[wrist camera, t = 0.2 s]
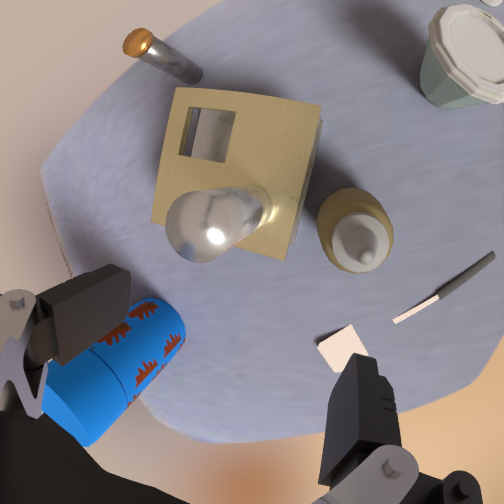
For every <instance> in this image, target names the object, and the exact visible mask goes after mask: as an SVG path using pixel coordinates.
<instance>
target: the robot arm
mask: <svg viewBox="0 0 504 504" xmlns="http://www.w3.org/2000/svg"><path fill="white" fill-rule="evenodd" d="M130 280H131V276H130V273H129V271H127V270H125V269H123V268H120V267H118V266H116V265H114V264H108V265H106V266H104V267H102V268H99V269H97V270H95V271H93V272H87V273H83V274H81V275H79V276H76V277H74V278H73V279H70V280H68V281H66V282H65V283H61V284H59V285H57V286H55V287H53V288H51V289H48V290H46V291H44V292H42V293H40V294H38V295H36V296H35V295H34V294H33V293H31V292H29V291H26V290H21V289H17V290H11V291H8V292H6V293H4V294H3V295H2V294H0V504H190V503H187V502H185V501H183V500H180V499H178V498H176V497H174V496H171V495H169V494H167V493H165V492H163V491H161V490H159V489H157V488H155V487H151V486H148V485H144V484H141V483H138V482H135V481H132V480H129V479H126V478H122V477H120V476H117V475H114V474H111V473H109V472H107V471H105V470H104V469H102V468H101V467H100V466H99V465H98V463H97V462H96V461H94V459H93V458H92V457H91V456H90V455H89V454H88V453H87V451H86V450H85V449H84V448H83V447H82V446H81V444H80V443H79V442H78V441H77V440H76V438H75V437H74V436H72V435H71V434H70V433H69V432H67V431H66V430H65V429H64V428H62V427H61V426H60V425H59V424H58V423H56V422H55V421H54V420H53V419H52V418H50V417H49V416H48V415H47V414H46V413H43V414H41V406H42V399H43V393H44V388H45V383H46V378H47V373H48V362H47V361H48V360H50V359H51V358H52V359H53V360H54V361H56V362H57V363H58V364H60V365H61V366H62V367H63V366H64V365H66V364H67V363H68V362H70V361H71V360H72V359H74V358H75V357H77V356H78V355H79V354H81V353H82V352H83V351H85V350H86V349H87V348H89V347H90V346H91V345H93V344H94V343H95V342H97V341H98V340H100V339H101V338H102V337H104V336H105V335H106V334H108V333H109V332H111V331H112V330H113V329H115V328H116V327H117V326H119V325H120V324H121V323H123V322H124V320H125V319H126V317H127V315H128V312H129V298H130ZM394 401H395V398H394V392H393V388H392V386H391V385H390V383H389V382H388V380H387V379H386V377H384V376H380V375H379V373H378V367H377V361H376V359H375V358H372V357H368V356H365V355H361V354H358V353H353V354H352V355H351V357H350V358H349V360H348V362H347V364H346V366H345V368H344V370H343V372H342V374H341V375H340V377H339V379H338V381H337V383H336V384H335V386H334V388H333V390H332V393H331V396H330V399H329V403H328V412H327V422H326V431H325V439H324V447H323V454H322V461H321V468H320V474H319V481H318V484H321V485H325V486H330V489H329V492H328V493H326V494H325V495H324V496H322V497H320V498H319V499H317V500H316V501H315V502H313V503H312V504H483V501H482V495H481V489H480V485H479V483H478V482H477V480H476V479H475V477H474V476H472V475H471V474H469V473H468V472H465V471H454V472H452V473H450V474H449V475H448V476H447V477H445V478H444V479H443V480H440V479H437V478H434V477H431V476H429V475H426V474H423V473H421V472H419V467H418V463H417V461H416V460H415V458H414V456H413V455H412V454H411V453H410V452H408V451H407V450H405V449H404V448H402V444H401V436H400V429H399V422H398V415H397V412H396V410H397V409H396V403H395V402H394Z"/></svg>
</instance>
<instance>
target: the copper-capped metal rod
mask: <svg viewBox="0 0 504 504" xmlns="http://www.w3.org/2000/svg"><path fill="white" fill-rule="evenodd" d="M123 52H124V53H125V54H126V55H129V56H131V57H133V58H139V59H141V60H143V61H145V62H147V63H149V64H151V65H153V66H155V67H157V68H159V69H161V70H163V71H165V72H167V73H169V74H171V75H172V76H174V77H176V78H178V79H180V80H182V81H183V82H185V83H187V84H190V85H193V84H196V83H198V82H199V81H200V80H201V78H202V76H203V71H202V69H201V68H200V67H199V66H197V65H196V64H194V63H193V62H192V61H190V60H189V59H187V58H186V57H184V56H183V55H182V54H180V53H179V52H177V51H176V50H174V49H173V48H171V47H170V46H168V45H167V44H165V43H164V42H162V41H160V40H159V39H157V38H156V37H154V36H153V34H152V33H151V32H149V31H148V30H146V29H144V28H138V29H136V30H134V31H132V32H131V33H130V34H129V35H128V36H127V37H126V39H125V41H124V43H123Z"/></svg>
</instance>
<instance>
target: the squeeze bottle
mask: <svg viewBox="0 0 504 504" xmlns="http://www.w3.org/2000/svg"><path fill="white" fill-rule="evenodd" d="M316 220H317V229H318V235H319V238H320V241H321V244H322V248H323V250H324V251H325V253H326V255H327V257H328V259H329V261H331V262H332V263H333V264H334V265H335V266H337V267H338V268H339V269H341V270H344V271H347V272H350V273H365V272H369V271H371V270H373V269H375V268H377V267H379V266H380V265H381V264H382V263H383V262H384V260H385V259H386V258H387V257H388V256H389V254H390V251H391V248H392V245H393V242H394V239H393V226H392V224H391V222H390V220H389V218H388V216H387V214H386V212H385V211H384V209H383V207H382V206H381V204H380V203H379V201H378V200H377V199H376V198H375V197H373V196H372V195H371V194H370V193H369V192H367V191H364V190H361V189H358V188H344V189H340V190H338V191H336V192H334V193H332V194H331V195H329V196H328V197H327V198H326V200H325V201H324V202H323V203H322V205H321V206H320V209H319V212H318V216H317V219H316Z"/></svg>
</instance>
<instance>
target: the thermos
mask: <svg viewBox="0 0 504 504" xmlns="http://www.w3.org/2000/svg"><path fill="white" fill-rule="evenodd" d="M185 336H186V332H185V327H184V323H183V321H182V319H181V317H180V316H179V314H178V313H177V312H176V311H175V310H174V308H173V307H172V306H171V305H169V304H167V303H166V302H164V301H163V300H160V299H156V298H145V299H143V300H141V301H140V302H138V303H136V304H134V305H132V306H131V307H129V312H128V315H127V317H126V319H125V320H124V322H123V323H121V324H120V325H119V326H117V327H116V328H115V329H113V330H112V331H111V332H109V333H108V334H106V335H105V336H104V337H102V338H101V339H100V340H98V341H97V342H95V343H94V344H93V345H91V346H90V347H89V348H87V349H86V350H85V351H83V352H82V353H81V354H79V355H78V356H77V357H75V358H74V359H72V360H71V361H70V362H68V363H67V364H66V365H64V366H63V367H62V366H61V365H60V364H58V363H57V362H56V361H54V360H52V361H51V362H49V363H48V373H47V378H46V383H45V388H44V393H43V399H42V406H41V410H42V411H43V413H46V414H47V415H48V416H49V417H50V418H52V419H53V420H54V421H55V422H56V423H58V424H59V425H60V426H61V427H62V428H64V429H65V430H66V431H67V432H69V433H70V434H71V435H72V436H74V437H75V438H76V440H77V441H78V442H79V443H80V444H81V446H82V447H89V446H90V445H92V444H93V443H94V442H96V441H97V440H98V439H99V438H100V437H101V436H102V435H103V434H104V433H105V431H106V430H107V429H108V428H109V427H110V426H111V425H112V424H113V423H114V422H115V421H116V420H117V418H118V417H119V416H120V415H121V414H122V413H123V412H124V411H125V410H126V409H127V408H128V407H129V405H130V404H131V403H132V402H133V401H134V400H135V399H136V398H137V397H138V396H139V395H140V393H141V392H142V391H143V390H144V389H145V388H146V387H147V386H148V385H149V384H150V382H151V381H152V380H153V379H154V378H155V377H156V376H157V375H158V374H159V373H160V371H161V370H162V369H163V368H164V367H165V366H166V365H167V364H168V363H169V362H170V360H171V359H172V358H173V356H174V355H175V354H176V353H177V351H178V350H179V349H180V347H181V346H182V345H183V343H184V341H185Z"/></svg>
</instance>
